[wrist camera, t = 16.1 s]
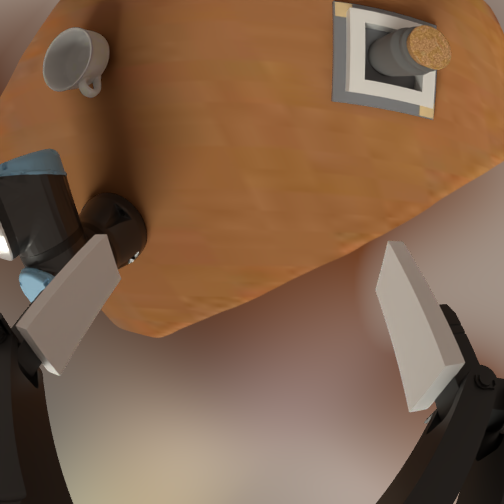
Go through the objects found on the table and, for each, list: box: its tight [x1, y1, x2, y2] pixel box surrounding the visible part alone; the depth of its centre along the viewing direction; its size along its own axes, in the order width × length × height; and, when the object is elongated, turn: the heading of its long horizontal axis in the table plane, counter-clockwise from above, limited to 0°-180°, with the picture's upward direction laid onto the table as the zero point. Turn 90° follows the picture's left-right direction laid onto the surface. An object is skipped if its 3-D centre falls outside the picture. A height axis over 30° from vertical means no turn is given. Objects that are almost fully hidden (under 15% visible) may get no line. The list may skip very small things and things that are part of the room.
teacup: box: [43, 27, 110, 98], centre depth 32 cm, size 14×11×8 cm
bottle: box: [367, 25, 451, 77], centre depth 23 cm, size 6×6×15 cm
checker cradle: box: [331, 1, 437, 120], centre depth 28 cm, size 16×16×4 cm
